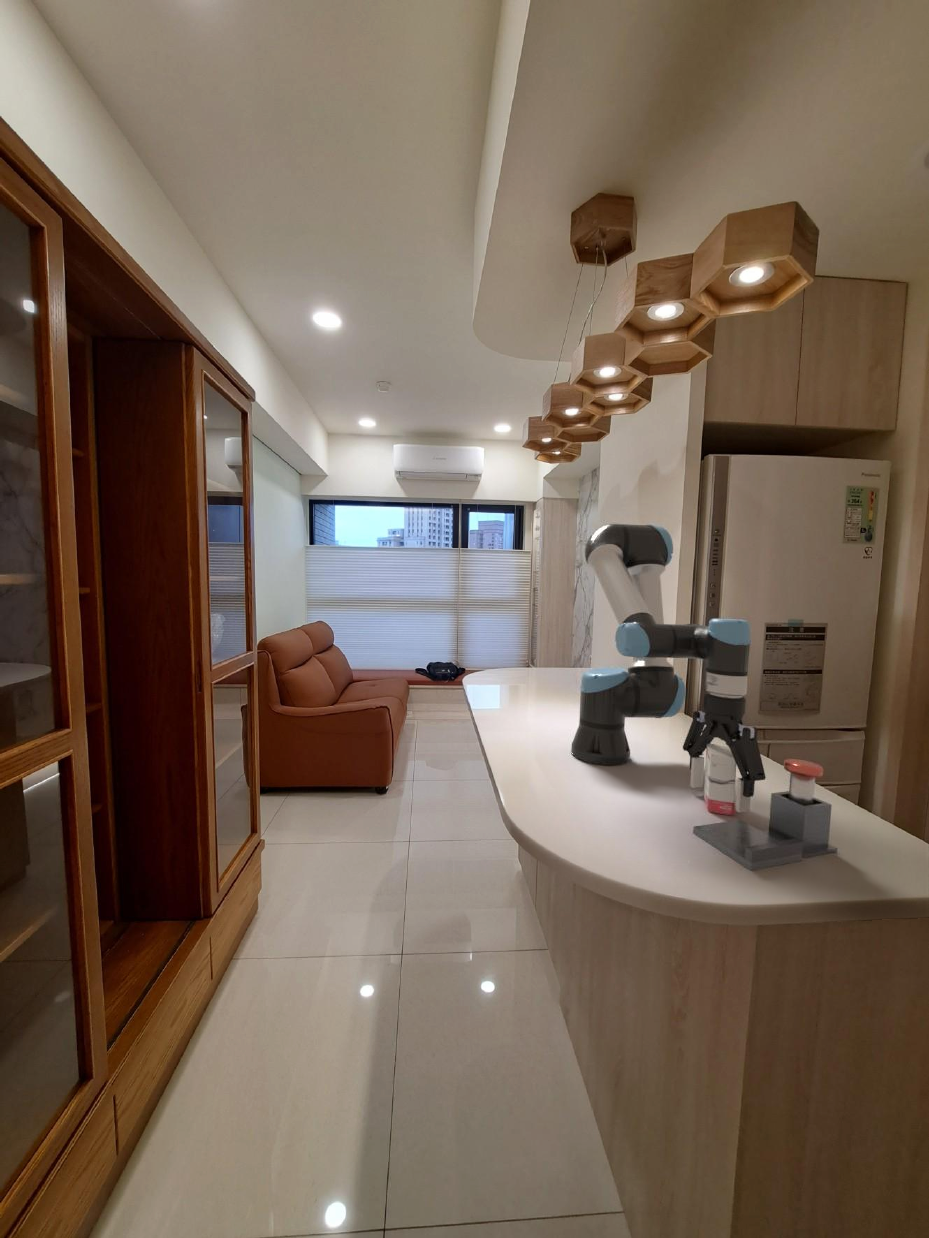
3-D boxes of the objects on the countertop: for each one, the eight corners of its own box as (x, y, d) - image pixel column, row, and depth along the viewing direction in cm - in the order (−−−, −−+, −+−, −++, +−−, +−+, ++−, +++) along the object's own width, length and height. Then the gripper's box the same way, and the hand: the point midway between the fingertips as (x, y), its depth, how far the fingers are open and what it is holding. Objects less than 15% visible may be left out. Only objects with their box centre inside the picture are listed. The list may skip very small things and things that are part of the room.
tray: (693, 832, 86) (694, 815, 86) (739, 825, 89) (740, 809, 89) (750, 870, 75) (752, 850, 74) (801, 860, 78) (803, 841, 78)
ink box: (734, 817, 93) (738, 758, 92) (706, 811, 95) (710, 754, 94) (728, 799, 101) (731, 745, 100) (702, 795, 103) (705, 742, 102)
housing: (760, 834, 86) (763, 791, 86) (792, 828, 89) (795, 787, 88) (803, 858, 79) (806, 811, 78) (837, 851, 81) (840, 806, 81)
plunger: (773, 809, 85) (776, 760, 85) (795, 806, 87) (799, 757, 86) (803, 824, 80) (807, 771, 79) (827, 820, 82) (831, 769, 81)
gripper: (669, 683, 107) (663, 777, 108) (762, 708, 84) (754, 827, 85) (695, 682, 109) (689, 774, 110) (793, 707, 86) (785, 822, 88)
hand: (718, 798), depth 98 cm, fingers open, 11 cm apart
